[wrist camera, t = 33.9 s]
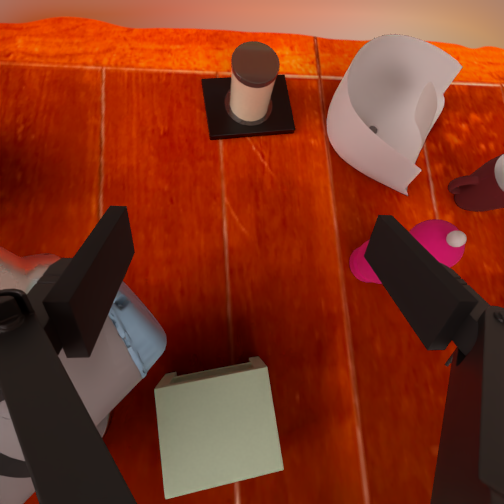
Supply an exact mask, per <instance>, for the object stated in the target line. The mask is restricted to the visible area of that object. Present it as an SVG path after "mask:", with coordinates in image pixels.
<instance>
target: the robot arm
mask: <svg viewBox="0 0 504 504" xmlns="http://www.w3.org/2000/svg"><path fill="white" fill-rule="evenodd" d="M134 253H135V251H134V246H133V240H132V234H131V229H130V223H129V218H128V212H127V206H110V207H109V208H108V209H107V211H106V212H105V214H104V215H103V217H102V218H101V219H100V221H99V222H98V224H97V225H96V226H95V228H94V229H93V231H92V232H91V233H90V235H89V236H88V238H87V239H86V240H85V242H84V243H83V245H82V246H81V248H80V249H79V250H78V252H77V253H76V255H75V256H74V257H73V258H60V257H58V256H56V255H55V254H50V253H43V254H37V255H31V256H25V257H19V256H17V255H15V254H13V253H12V252H10V251H8V250H6V249H5V248H3V247H1V246H0V504H23V503H24V502H25V501H26V500H27V499H28V498H29V497H30V496H31V495H32V494H33V493H34V492H36V495H37V498H38V501H39V504H137V503H136V501H135V499H134V497H133V495H132V494H131V492H130V490H129V488H128V486H127V484H126V482H125V480H124V479H123V477H122V475H121V473H120V471H119V469H118V467H117V465H116V464H115V462H114V460H113V458H112V456H111V454H110V452H109V450H108V449H107V447H106V445H105V443H104V441H103V438H104V436H105V434H106V433H107V430H108V428H109V425H110V423H111V419H112V414H113V408H114V407H115V406H116V405H117V404H118V403H119V402H120V401H121V400H122V399H123V398H124V397H125V396H126V395H127V394H128V393H129V392H130V391H131V390H132V389H133V388H134V387H135V386H136V385H137V384H138V383H139V382H140V380H141V379H143V378H144V377H145V376H146V375H147V371H148V370H149V369H150V368H151V367H152V365H153V364H154V363H155V362H156V361H157V359H158V358H159V357H160V356H161V355H162V353H163V352H164V350H165V347H166V343H167V341H166V334H165V332H164V330H163V328H162V327H161V325H160V324H159V323H158V321H157V320H156V319H155V317H154V316H153V315H152V313H151V312H150V311H149V310H148V309H147V307H146V306H145V305H144V304H143V303H142V302H141V300H140V299H139V298H138V297H137V296H136V295H135V294H134V293H133V291H132V290H131V289H130V288H129V287H128V286H127V285H126V284H125V283H124V282H123V278H124V276H125V274H126V271H127V269H128V267H129V264H130V262H131V260H132V257H133V255H134ZM364 258H365V259H366V261H367V262H368V263H369V265H370V266H371V268H372V269H373V271H374V272H375V274H376V275H377V277H378V278H379V280H380V281H381V283H382V284H383V286H384V287H385V288H386V290H387V291H388V293H389V294H390V296H391V297H392V299H393V300H394V302H395V303H396V305H397V306H398V308H399V309H400V311H401V312H402V314H403V315H404V316H405V318H406V319H407V321H408V322H409V324H410V325H411V327H412V328H413V330H414V331H415V333H416V334H417V336H418V337H419V339H420V340H421V341H422V343H423V344H424V346H425V347H426V349H427V350H445V349H446V347H447V346H448V344H449V343H450V342H451V340H452V341H453V342H454V343H455V344H456V346H457V348H456V350H455V351H454V352H453V354H452V355H451V356H450V358H449V359H448V360H447V362H446V363H445V365H446V366H448V365H449V364H450V363H452V365H451V371H450V378H449V385H448V391H447V398H446V404H445V411H444V418H443V424H442V431H441V438H440V444H439V451H438V458H437V464H436V471H435V477H434V484H433V491H432V497H431V504H504V308H502V307H498V306H490V305H489V304H488V303H487V302H486V301H485V300H484V299H483V298H482V297H481V296H480V295H479V294H478V293H476V292H475V291H474V290H473V289H472V288H471V287H470V286H469V285H467V283H466V282H465V281H464V280H463V279H461V277H460V276H459V275H458V274H457V273H456V272H455V271H454V270H452V269H451V268H449V267H448V266H446V265H444V264H443V263H440V262H439V261H438V260H437V259H436V258H435V257H433V256H432V255H431V254H430V253H429V252H428V251H427V250H426V249H425V248H424V247H423V246H422V245H421V244H420V243H419V242H418V241H417V240H416V239H415V238H414V237H413V236H412V235H411V234H410V233H409V232H408V231H407V230H406V229H405V228H404V227H403V226H402V225H401V224H400V223H399V222H398V221H397V220H396V219H395V218H394V217H393V216H392V215H378V218H377V221H376V223H375V226H374V229H373V232H372V235H371V237H370V240H369V243H368V246H367V248H366V251H365V254H364Z"/></svg>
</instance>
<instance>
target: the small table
mask: <svg viewBox="0 0 504 504" xmlns="http://www.w3.org/2000/svg"><path fill="white" fill-rule="evenodd" d="M154 393H155V403H156V413H157V423H158V433H159V443H160V453H161V463H162V473H163V483H164V493H165V499H169V498H173V497H177V496H181V495H185V494H189V493H193V492H197V491H201V490H205V489H209V488H213V487H217V486H221V485H225V484H229V483H233V482H237V481H241V480H245V479H249V478H253V477H257V476H261V475H265V474H269V473H273V472H277V471H281V470H284V468H283V461H282V455H281V449H280V443H279V436H278V430H277V424H276V418H275V412H274V405H273V399H272V393H271V387H270V380H269V374H268V368H267V366H266V365H265V363H264V362H263V361H262V360H261V359H260V357H259V356H257V357H252V358H249V362H248V363H242V364H237V365H232V366H227V367H222V368H216V369H211V370H206V371H201V372H196V373H190V374H185V375H180V376H177V372H173V373H168V374H165V375H164V377H163V378H162V379H161V381H160V382H159V383H158V385H157V386H156V387H155V389H154Z"/></svg>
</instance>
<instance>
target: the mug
mask: <svg viewBox="0 0 504 504" xmlns="http://www.w3.org/2000/svg"><path fill="white" fill-rule="evenodd" d="M448 190H449V192H451V193H453V194H455V196H454V199H455V202H456V204H457V205H458V206H459V207H460V208H462V209H465V210H470V211H488V210H494V209H500V208H504V154H502V155H500V156H498V157H496V158H494V159H492V160H490V161H488V162H487V163H485V164H484V165H483V166H481V167H480V168H479V169H477V170H476V171H475V172H474V173H472V174H471V175H469V176H463V177H459V178H456V179H454V180H452V181H451V182H450V183H449V185H448Z"/></svg>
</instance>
